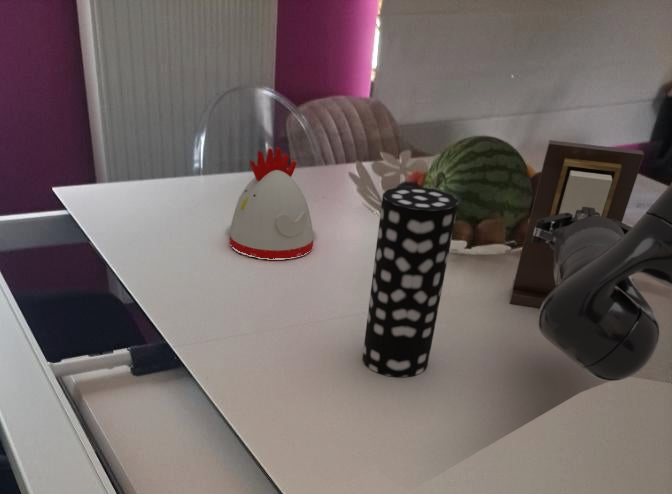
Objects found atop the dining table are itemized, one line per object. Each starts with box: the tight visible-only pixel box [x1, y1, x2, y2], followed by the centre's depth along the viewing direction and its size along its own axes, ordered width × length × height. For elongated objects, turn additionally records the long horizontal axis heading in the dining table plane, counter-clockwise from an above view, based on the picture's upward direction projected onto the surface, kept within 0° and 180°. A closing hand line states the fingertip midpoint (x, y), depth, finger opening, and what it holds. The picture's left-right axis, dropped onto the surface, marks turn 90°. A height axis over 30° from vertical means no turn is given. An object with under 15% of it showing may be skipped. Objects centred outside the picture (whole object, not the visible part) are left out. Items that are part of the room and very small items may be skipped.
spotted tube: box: [362, 186, 459, 378], centre depth 88 cm, size 8×8×20 cm
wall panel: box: [509, 139, 645, 309], centre depth 104 cm, size 6×12×22 cm, turn 74°
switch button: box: [559, 171, 612, 218], centre depth 98 cm, size 2×5×6 cm, turn 74°
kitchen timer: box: [229, 146, 314, 259], centre depth 119 cm, size 14×14×15 cm
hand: (585, 215), depth 92 cm, fingers closed
